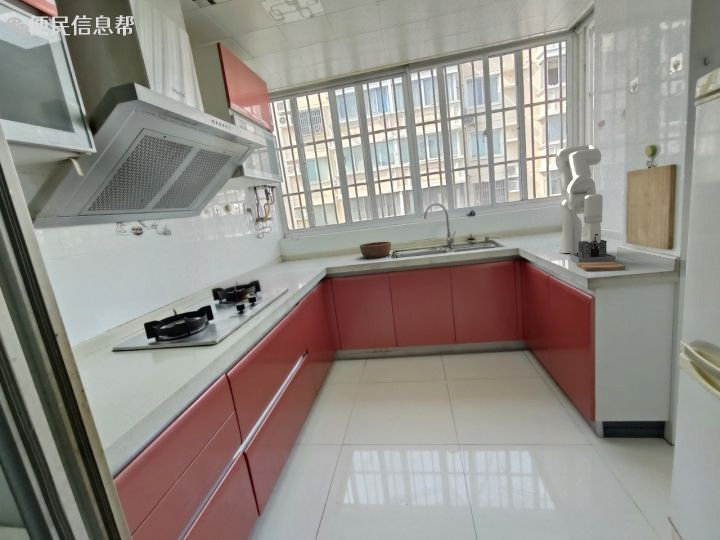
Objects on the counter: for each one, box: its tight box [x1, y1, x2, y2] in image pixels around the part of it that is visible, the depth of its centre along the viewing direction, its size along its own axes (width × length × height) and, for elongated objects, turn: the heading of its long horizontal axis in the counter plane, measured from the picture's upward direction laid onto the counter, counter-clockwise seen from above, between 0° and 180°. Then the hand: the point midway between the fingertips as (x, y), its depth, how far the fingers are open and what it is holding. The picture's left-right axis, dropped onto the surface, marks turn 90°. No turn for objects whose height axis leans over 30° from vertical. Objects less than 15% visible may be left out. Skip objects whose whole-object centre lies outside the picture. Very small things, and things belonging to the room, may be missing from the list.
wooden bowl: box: [359, 241, 392, 259], centre depth 264 cm, size 25×25×10 cm
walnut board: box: [576, 261, 627, 272], centre depth 153 cm, size 13×15×2 cm
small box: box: [578, 239, 608, 258], centre depth 166 cm, size 11×6×10 cm, turn 74°
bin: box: [570, 252, 617, 264], centre depth 166 cm, size 13×16×3 cm
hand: (592, 254), depth 166 cm, fingers closed on small box, 6 cm apart
